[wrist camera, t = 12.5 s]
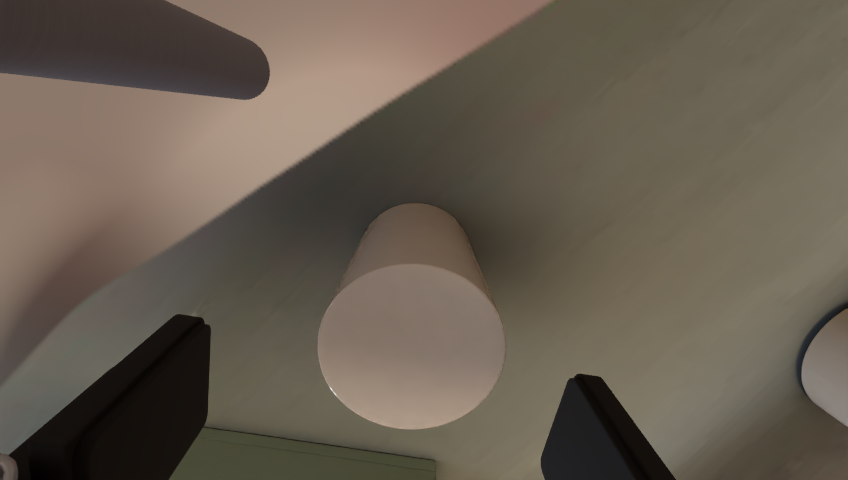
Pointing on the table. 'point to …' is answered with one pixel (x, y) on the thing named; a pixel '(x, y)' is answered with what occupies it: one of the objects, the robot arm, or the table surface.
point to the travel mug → (829, 368)
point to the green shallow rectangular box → (290, 460)
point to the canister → (412, 323)
